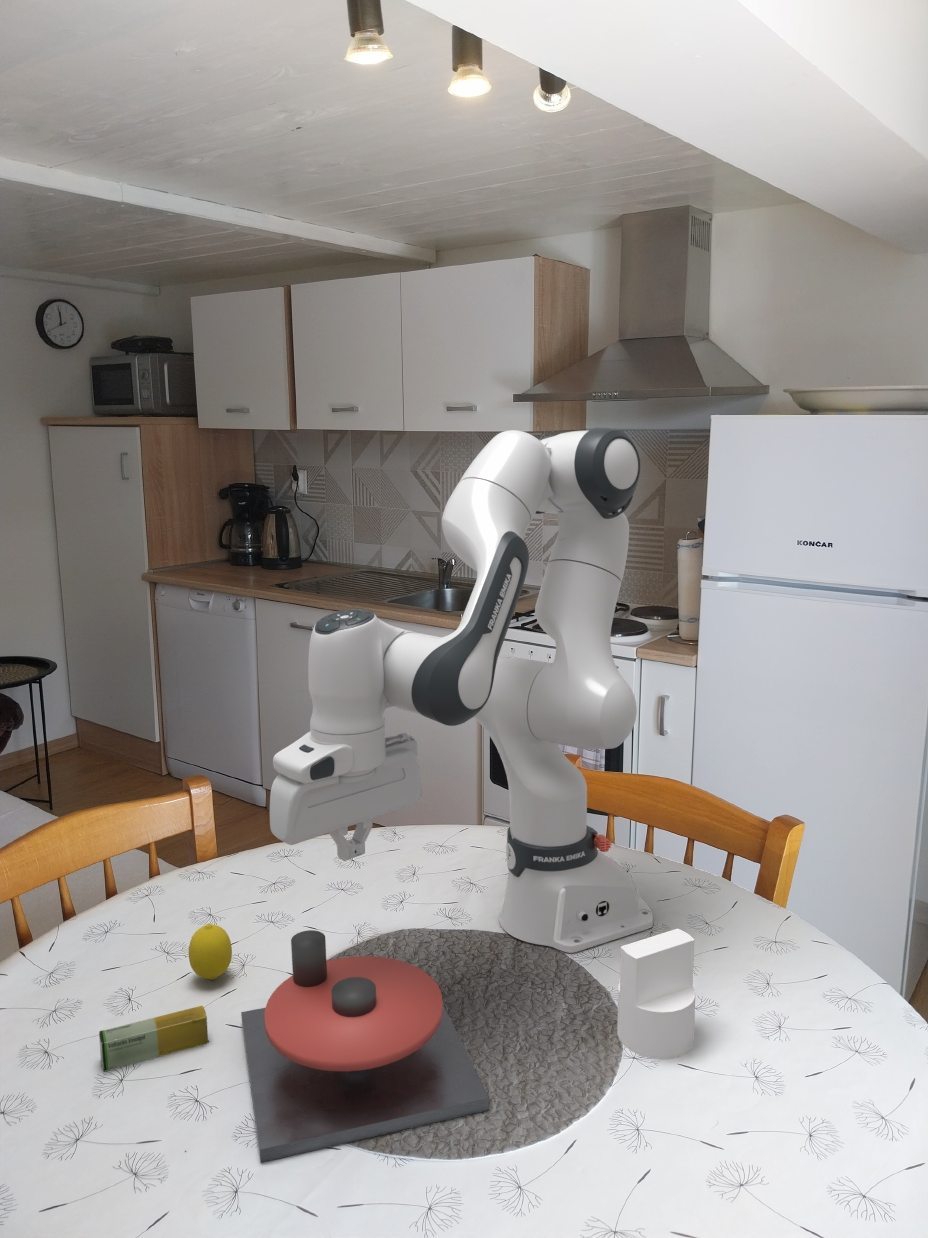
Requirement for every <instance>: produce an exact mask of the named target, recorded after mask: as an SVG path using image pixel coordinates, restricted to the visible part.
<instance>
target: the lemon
mask: <svg viewBox="0 0 928 1238" xmlns="http://www.w3.org/2000/svg"><path fill="white" fill-rule="evenodd" d="M232 957H233V948H232V942H231V939H230V937H229V935H228V932H227V931H226V929H224V928H222V927H221V926H220V925H217V924H211V923H207V924H206V925H204V926H201V927H199V928H198V929H197V930H196V931H195V932H194V934H193V935H192V936H191V939H190V942H189V946H188V959H189V960H188V961H189V965H190V967H191V969H192V971H193V972H194V974H195V975H197V976H199V977H200V978H202V979H205V980H206V979H207V980H210V981H214V980H215V979H216V978H218V977H220V976H221V975H223V974H224V973H225V972H226V971H227V970H228V968H229V967H230V964H231V961H232V959H233V958H232Z"/></svg>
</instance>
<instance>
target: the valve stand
mask: <svg viewBox="0 0 928 1238" xmlns="http://www.w3.org/2000/svg"><path fill="white" fill-rule="evenodd" d="M265 1008H266V1007H262V1008H261V1007H260V1008H257V1009H252V1010H246V1011H245V1010H244V1011H241V1012H240V1013H241V1015H240V1016H241V1026H242V1034H243V1035H242V1036H243V1040H244V1050H245V1057H246V1064H247V1070H248V1077H249V1085H250V1092H251V1093H250V1094H251V1099H252V1109H253V1114H254V1122H255V1131H256V1138H257V1145H258V1153H259V1160H260V1163H265V1162H270V1161H273V1160H279V1159H283V1158H287V1157H292V1156H296V1155H300V1154H304V1153H308V1152H313V1151H317V1150H322V1149H326V1148H330V1147H335V1146H340V1145H344V1144H348V1143H352V1142H357V1141H361V1140H365V1139H369V1138H373V1137H378V1136H383V1135H387V1134H392V1133H395V1132H399V1131H404V1130H409V1129H414V1128H417V1127H420V1126H422V1127H423V1126H425V1125H429V1124H433V1123H434V1124H435V1123H438V1122H442V1121H446V1120H447V1121H448V1120H451V1119H456V1118H460V1117H464V1116H468V1115H473V1114H478V1113H482V1112H487V1111H489V1110H490V1097H489V1095H488V1093H487V1091H486V1088H485V1086H484V1084H483V1083H482V1080H481V1078H480V1077H479V1074H478V1072H477V1070H476V1068H475V1067H474V1065H473V1062H472V1060H471V1058H470V1056H469V1054H468V1052H467V1050H466V1048H465V1046H464V1044H463V1041H462V1040H461V1037H460V1036H459V1034H458V1031H457V1030H456V1027H455V1026H454V1024H453V1021H452V1019H451V1017H450V1015H449V1012H448V1011H447V1010H446V1007H445V1005H444V1004H443V1013H442V1019H441V1023H440V1025H439V1027H438V1029H437V1031H436V1032H435V1034H434V1035H433V1036H432V1038H431V1039H430V1040H429V1041H428V1042H427V1043H426V1044H425V1045H423V1046H422V1047H421V1048H419V1049H418V1050H417V1051H415V1052H413V1053H412V1054H410V1055H408V1056H406V1057H404V1058H402V1059H400V1060H398V1061H395V1062H392V1063H390V1064H387V1065H384V1066H380V1067H376V1068H371V1069H365V1070H358V1071H327V1070H320V1069H314V1068H310V1067H307V1066H303V1065H300V1064H298V1063H296V1062H293V1061H291V1060H289V1059H288V1058H286V1057H284V1056H283V1055H282V1054H280V1053H279V1052H278V1051H277V1050H276V1049H275V1048H274V1047H273V1046H272V1044H271V1043H270V1041H269V1039H268V1037H267V1034H266V1031H265V1015H264V1014H265Z"/></svg>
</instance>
